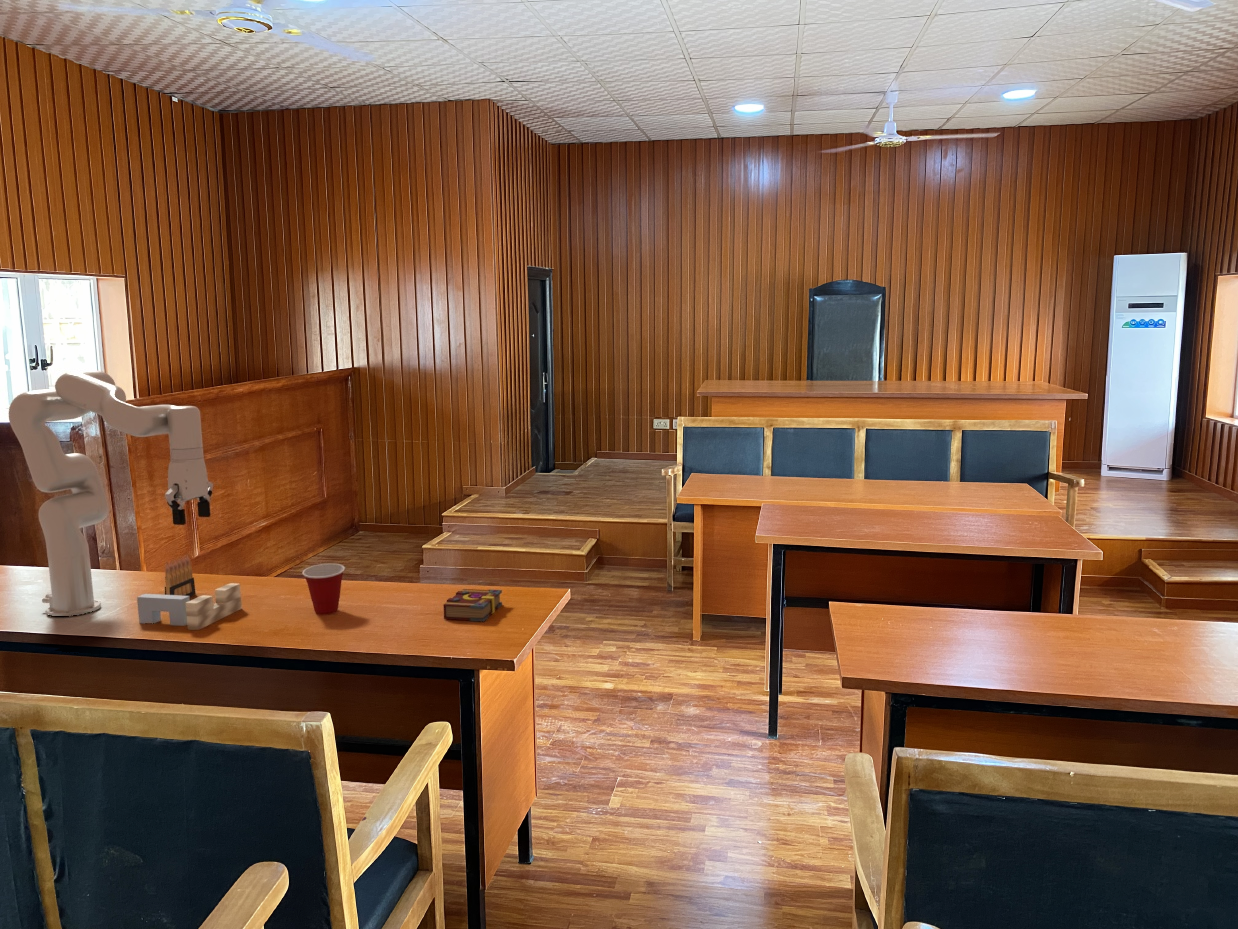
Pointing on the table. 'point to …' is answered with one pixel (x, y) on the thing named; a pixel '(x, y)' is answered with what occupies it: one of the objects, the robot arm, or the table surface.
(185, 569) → the ammunition clip
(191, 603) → the birch block
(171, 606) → the grey block
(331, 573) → the plastic cup
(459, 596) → the decorative book
